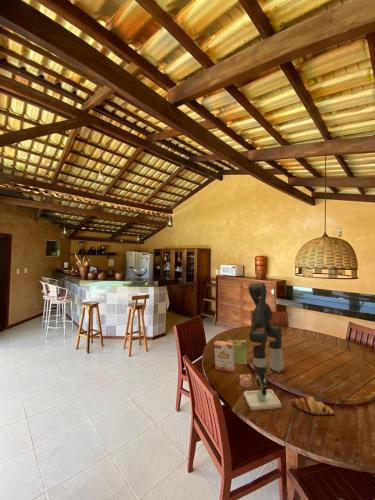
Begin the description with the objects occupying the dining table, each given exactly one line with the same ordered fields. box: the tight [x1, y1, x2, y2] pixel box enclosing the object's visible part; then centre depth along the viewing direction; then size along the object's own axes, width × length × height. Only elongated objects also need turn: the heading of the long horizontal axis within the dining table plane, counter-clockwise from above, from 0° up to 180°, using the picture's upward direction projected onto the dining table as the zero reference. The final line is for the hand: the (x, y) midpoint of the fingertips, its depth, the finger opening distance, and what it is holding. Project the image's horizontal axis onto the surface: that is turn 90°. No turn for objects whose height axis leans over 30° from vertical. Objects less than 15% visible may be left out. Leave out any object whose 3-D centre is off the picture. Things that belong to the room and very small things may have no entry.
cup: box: [239, 373, 253, 388], centre depth 157 cm, size 8×8×5 cm
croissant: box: [290, 395, 334, 416], centre depth 129 cm, size 21×10×8 cm, turn 63°
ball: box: [257, 389, 266, 401], centre depth 138 cm, size 6×6×6 cm
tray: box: [243, 388, 283, 411], centre depth 138 cm, size 18×14×2 cm
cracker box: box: [213, 340, 236, 373], centre depth 178 cm, size 14×6×21 cm, turn 65°
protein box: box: [227, 339, 248, 365], centre depth 190 cm, size 10×15×16 cm
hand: (261, 390), depth 138 cm, fingers open, 8 cm apart
